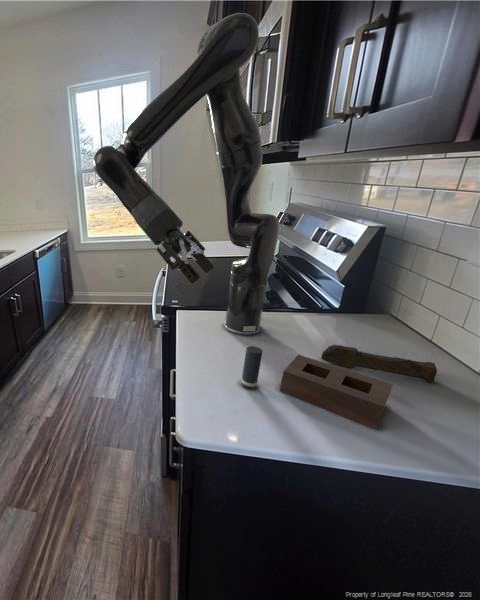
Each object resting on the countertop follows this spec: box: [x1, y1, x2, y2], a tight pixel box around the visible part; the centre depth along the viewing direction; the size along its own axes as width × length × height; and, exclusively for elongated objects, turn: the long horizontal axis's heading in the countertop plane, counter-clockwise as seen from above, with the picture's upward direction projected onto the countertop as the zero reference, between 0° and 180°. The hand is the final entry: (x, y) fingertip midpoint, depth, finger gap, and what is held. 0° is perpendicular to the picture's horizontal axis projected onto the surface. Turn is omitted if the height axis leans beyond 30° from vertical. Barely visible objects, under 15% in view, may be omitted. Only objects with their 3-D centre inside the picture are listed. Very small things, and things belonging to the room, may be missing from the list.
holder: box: [279, 354, 394, 430], centre depth 63 cm, size 9×16×5 cm, turn 41°
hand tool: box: [320, 344, 438, 384], centre depth 71 cm, size 19×4×5 cm, turn 58°
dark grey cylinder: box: [240, 345, 263, 391], centre depth 68 cm, size 3×3×9 cm
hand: (203, 275), depth 68 cm, fingers open, 8 cm apart
